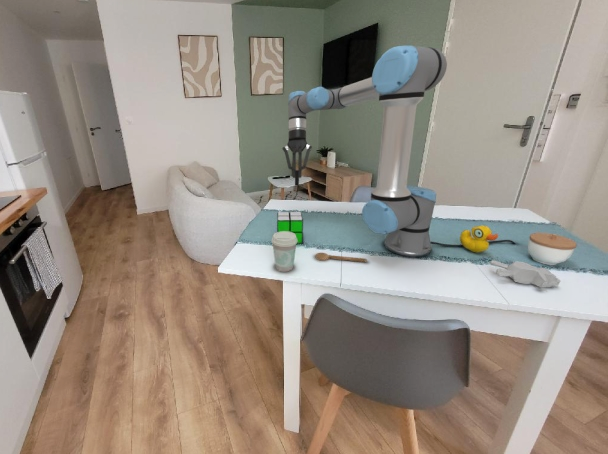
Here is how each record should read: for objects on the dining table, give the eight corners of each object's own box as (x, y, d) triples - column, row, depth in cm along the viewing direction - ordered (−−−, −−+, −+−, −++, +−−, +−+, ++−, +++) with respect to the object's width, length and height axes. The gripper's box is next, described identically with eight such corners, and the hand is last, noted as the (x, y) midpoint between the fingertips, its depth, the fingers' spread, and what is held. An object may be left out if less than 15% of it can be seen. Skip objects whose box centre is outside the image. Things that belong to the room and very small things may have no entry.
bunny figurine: (569, 281, 78) (503, 267, 83) (559, 296, 80) (495, 282, 85) (551, 264, 86) (491, 252, 91) (542, 278, 88) (484, 266, 93)
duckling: (496, 257, 99) (505, 230, 95) (484, 259, 98) (493, 232, 94) (464, 243, 109) (471, 218, 106) (453, 245, 108) (460, 221, 104)
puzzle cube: (300, 233, 125) (301, 211, 121) (302, 243, 116) (303, 220, 112) (277, 233, 126) (277, 211, 122) (277, 243, 117) (277, 220, 113)
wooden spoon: (366, 259, 102) (366, 256, 102) (367, 265, 98) (367, 262, 98) (316, 254, 107) (316, 251, 107) (315, 260, 103) (315, 257, 103)
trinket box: (558, 255, 98) (569, 230, 95) (574, 271, 89) (587, 244, 86) (517, 250, 103) (526, 226, 99) (529, 265, 94) (539, 239, 90)
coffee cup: (266, 268, 99) (266, 236, 95) (281, 258, 105) (281, 228, 100) (287, 276, 94) (287, 243, 89) (301, 266, 100) (302, 234, 95)
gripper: (312, 131, 127) (312, 185, 130) (283, 133, 131) (283, 186, 133) (312, 127, 120) (311, 184, 123) (281, 129, 123) (281, 185, 126)
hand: (296, 185), depth 128 cm, fingers closed
